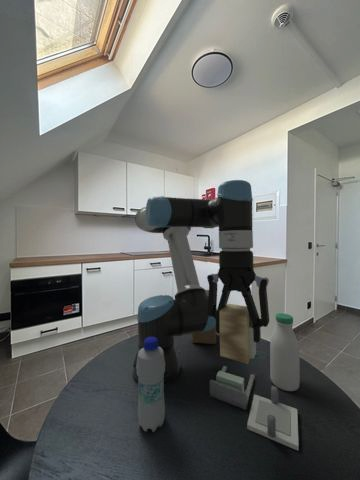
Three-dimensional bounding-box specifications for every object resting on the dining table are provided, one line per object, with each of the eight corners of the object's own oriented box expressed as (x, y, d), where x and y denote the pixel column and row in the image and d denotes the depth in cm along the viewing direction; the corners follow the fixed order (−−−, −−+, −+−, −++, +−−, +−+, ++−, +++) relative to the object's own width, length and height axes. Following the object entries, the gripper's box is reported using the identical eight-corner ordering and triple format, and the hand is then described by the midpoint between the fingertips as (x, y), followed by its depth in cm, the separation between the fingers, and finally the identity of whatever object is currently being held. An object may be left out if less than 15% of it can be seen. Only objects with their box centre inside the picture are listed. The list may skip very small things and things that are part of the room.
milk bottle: (304, 394, 55) (303, 321, 55) (273, 390, 57) (273, 319, 57) (294, 375, 63) (293, 311, 63) (267, 372, 65) (267, 310, 64)
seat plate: (246, 431, 45) (246, 411, 45) (254, 396, 55) (254, 379, 55) (298, 453, 40) (298, 431, 40) (297, 411, 50) (297, 393, 50)
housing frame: (209, 396, 55) (209, 381, 55) (223, 368, 67) (223, 356, 66) (246, 410, 51) (245, 394, 50) (254, 378, 62) (254, 365, 62)
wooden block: (193, 332, 92) (193, 288, 92) (215, 333, 91) (215, 289, 91) (191, 343, 83) (191, 295, 82) (216, 345, 81) (215, 295, 81)
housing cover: (216, 393, 56) (216, 375, 56) (219, 386, 59) (219, 369, 59) (242, 402, 53) (242, 383, 53) (244, 395, 55) (244, 377, 55)
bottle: (170, 416, 49) (170, 334, 49) (156, 441, 43) (155, 348, 43) (147, 406, 52) (146, 329, 52) (130, 429, 46) (129, 341, 46)
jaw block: (220, 355, 45) (219, 310, 45) (228, 344, 50) (228, 303, 50) (247, 363, 42) (246, 315, 42) (254, 350, 47) (253, 307, 47)
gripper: (191, 250, 48) (193, 347, 48) (279, 251, 38) (282, 374, 38) (204, 249, 54) (206, 335, 54) (283, 249, 45) (285, 354, 44)
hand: (237, 351), depth 46 cm, fingers closed on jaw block, 6 cm apart
